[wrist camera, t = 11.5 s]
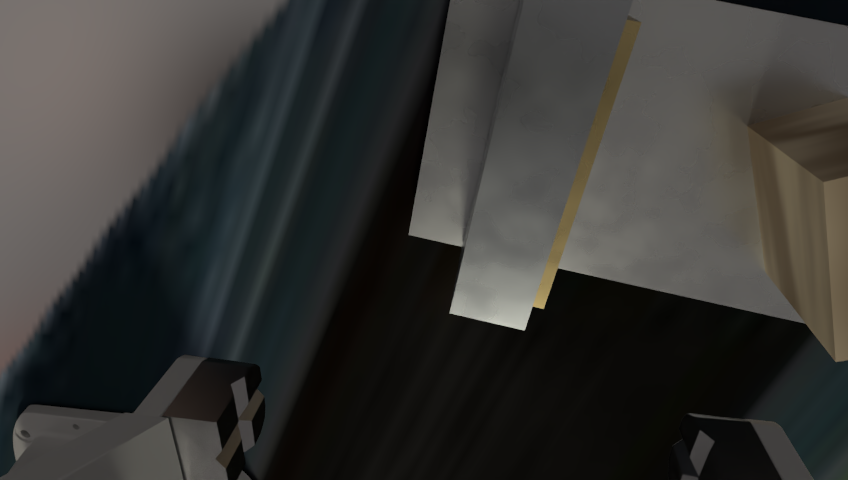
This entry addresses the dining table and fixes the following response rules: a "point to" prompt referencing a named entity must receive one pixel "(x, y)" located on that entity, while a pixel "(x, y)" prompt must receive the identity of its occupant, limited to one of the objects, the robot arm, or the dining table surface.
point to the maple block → (806, 214)
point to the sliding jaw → (540, 152)
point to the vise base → (648, 141)
